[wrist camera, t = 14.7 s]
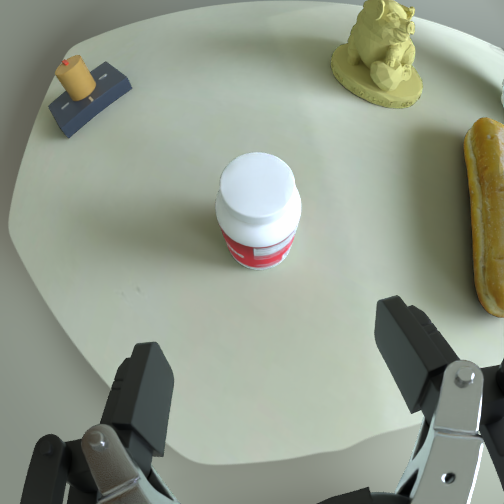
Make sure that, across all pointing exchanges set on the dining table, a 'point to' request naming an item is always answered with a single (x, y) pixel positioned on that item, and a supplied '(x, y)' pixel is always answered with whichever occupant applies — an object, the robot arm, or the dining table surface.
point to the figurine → (380, 56)
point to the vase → (503, 97)
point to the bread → (487, 210)
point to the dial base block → (90, 99)
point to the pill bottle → (258, 209)
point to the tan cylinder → (75, 78)
